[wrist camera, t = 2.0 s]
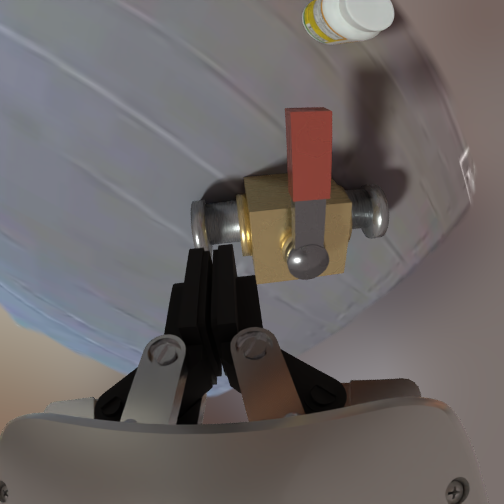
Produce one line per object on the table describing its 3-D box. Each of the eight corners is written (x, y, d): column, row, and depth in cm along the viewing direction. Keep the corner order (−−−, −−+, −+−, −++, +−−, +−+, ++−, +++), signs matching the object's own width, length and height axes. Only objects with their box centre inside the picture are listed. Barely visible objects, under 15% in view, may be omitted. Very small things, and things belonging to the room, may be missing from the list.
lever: (322, 265, 27) (328, 278, 25) (285, 270, 27) (288, 283, 25) (328, 107, 18) (337, 111, 17) (279, 108, 18) (284, 112, 17)
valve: (204, 244, 35) (200, 296, 28) (192, 183, 30) (182, 225, 23) (362, 227, 35) (392, 270, 28) (369, 168, 31) (408, 203, 24)
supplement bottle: (300, 41, 22) (334, 31, 14) (301, -5, 19) (334, -32, 11) (351, 48, 23) (401, 47, 15) (352, 4, 19) (401, -12, 12)
